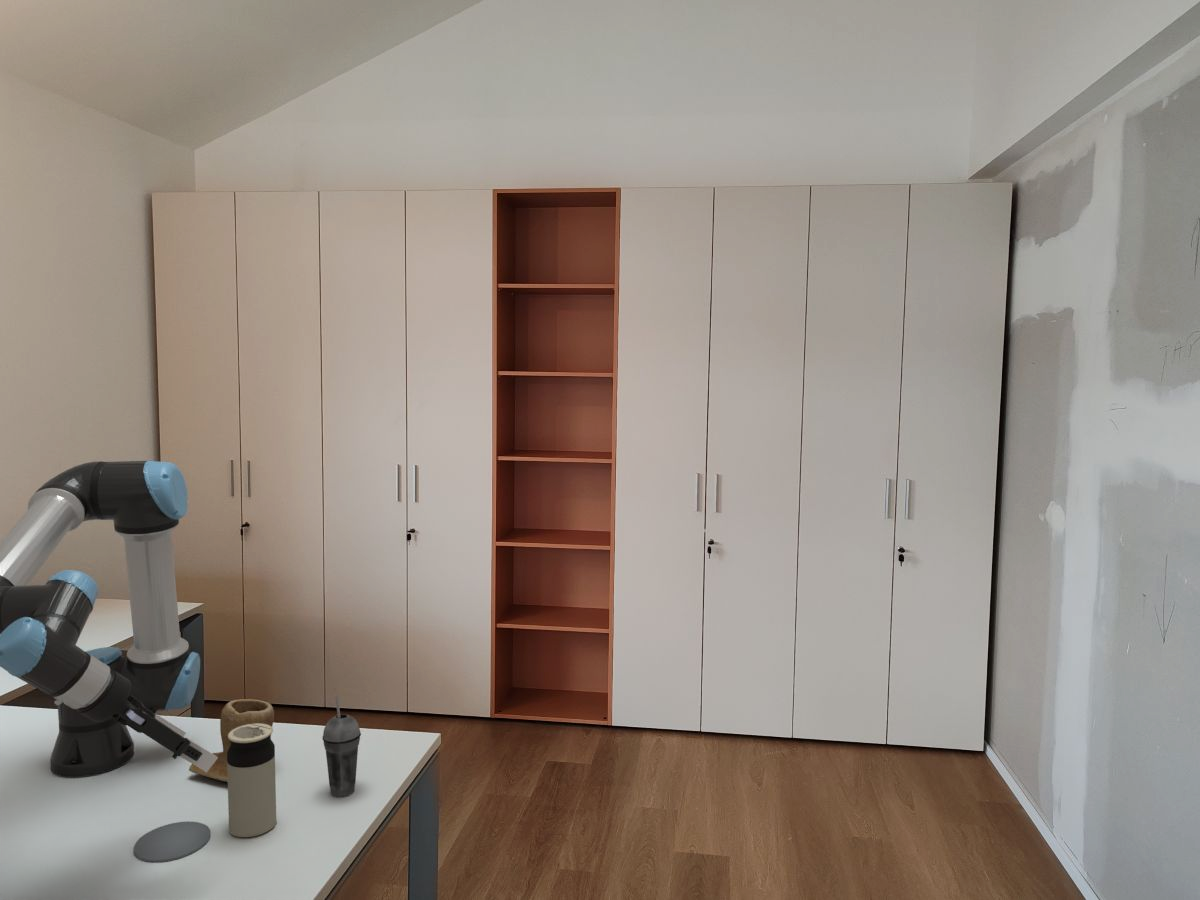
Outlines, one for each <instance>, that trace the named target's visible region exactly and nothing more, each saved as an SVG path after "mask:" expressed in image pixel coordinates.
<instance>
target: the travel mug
mask: <svg viewBox="0 0 1200 900" xmlns="http://www.w3.org/2000/svg"><path fill="white" fill-rule="evenodd" d="M273 732H274V729H273V726H272V727H271V726H269V725H267V724H260V723H256V724H247V725H243V726H240V727H237V728H235V729H233V730H232V731H231V732H230V733H229V734H228V739H229V740H230V743H231V745H230V747H229V749H228V751H227V774H228V782H227V802H228V803H227V804H228V809H227V810H228V831H229V833H230V834H231V835H232V836H235V837H239V838H253V837H257V836H260V835H264V834H265V833H267V832H269V831H271V829H273V828H274V827H275V826H276V825H277V798H276V797H277V795H276V792H277V791H276V789H277V787H276V783H277V782H276V752H275V751H276V748H275V747H276V746H275V744H274V742H273V740H272V739H271V738H272V734H273Z"/></svg>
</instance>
